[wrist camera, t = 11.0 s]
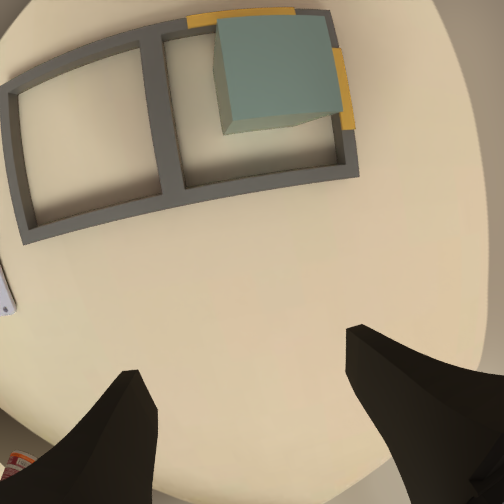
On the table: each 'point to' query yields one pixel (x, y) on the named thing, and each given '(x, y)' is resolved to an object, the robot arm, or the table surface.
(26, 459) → the pill bottle
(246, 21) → the pale teal rectangular block
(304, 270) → the table surface
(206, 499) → the table surface
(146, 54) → the dock
